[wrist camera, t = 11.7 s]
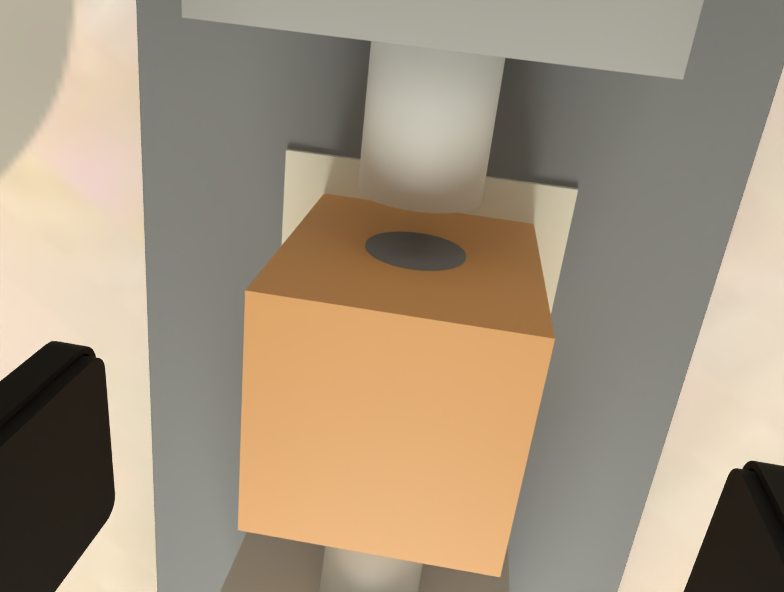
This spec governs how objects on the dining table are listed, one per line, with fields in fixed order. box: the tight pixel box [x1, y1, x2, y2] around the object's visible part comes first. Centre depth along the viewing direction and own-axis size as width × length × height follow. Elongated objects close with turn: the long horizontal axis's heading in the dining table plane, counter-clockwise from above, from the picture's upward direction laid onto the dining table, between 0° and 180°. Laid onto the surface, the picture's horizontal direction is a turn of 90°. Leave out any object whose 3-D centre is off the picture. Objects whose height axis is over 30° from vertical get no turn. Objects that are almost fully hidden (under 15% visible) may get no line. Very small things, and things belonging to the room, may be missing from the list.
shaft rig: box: [136, 0, 784, 592], centre depth 16 cm, size 25×14×8 cm, turn 174°
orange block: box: [238, 194, 555, 577], centre depth 15 cm, size 5×5×6 cm
